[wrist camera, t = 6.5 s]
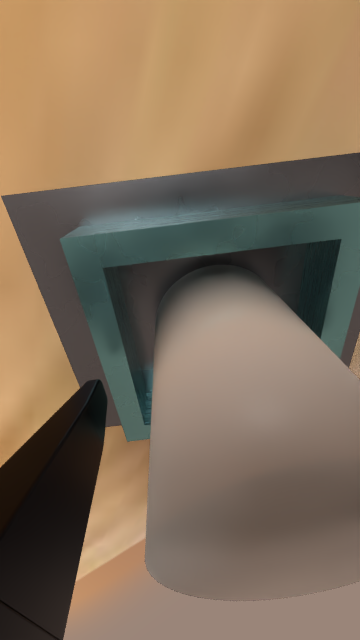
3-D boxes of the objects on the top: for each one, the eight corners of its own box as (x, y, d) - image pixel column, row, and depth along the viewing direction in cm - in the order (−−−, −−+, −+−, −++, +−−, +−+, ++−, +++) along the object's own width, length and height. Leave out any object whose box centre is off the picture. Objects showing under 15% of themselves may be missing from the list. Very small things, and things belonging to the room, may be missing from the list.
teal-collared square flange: (355, 153, 11) (480, 138, 7) (312, 364, 17) (363, 428, 13) (38, 191, 11) (-41, 200, 7) (106, 389, 17) (88, 462, 13)
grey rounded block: (282, 256, 10) (546, 433, 3) (269, 388, 14) (379, 605, 7) (145, 273, 10) (109, 487, 3) (168, 400, 14) (175, 631, 7)
